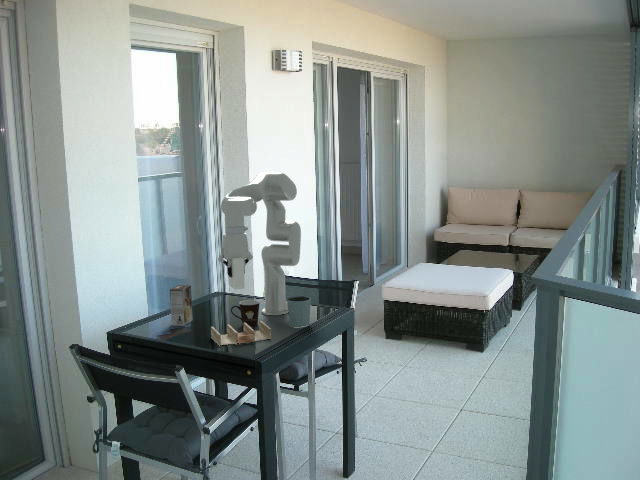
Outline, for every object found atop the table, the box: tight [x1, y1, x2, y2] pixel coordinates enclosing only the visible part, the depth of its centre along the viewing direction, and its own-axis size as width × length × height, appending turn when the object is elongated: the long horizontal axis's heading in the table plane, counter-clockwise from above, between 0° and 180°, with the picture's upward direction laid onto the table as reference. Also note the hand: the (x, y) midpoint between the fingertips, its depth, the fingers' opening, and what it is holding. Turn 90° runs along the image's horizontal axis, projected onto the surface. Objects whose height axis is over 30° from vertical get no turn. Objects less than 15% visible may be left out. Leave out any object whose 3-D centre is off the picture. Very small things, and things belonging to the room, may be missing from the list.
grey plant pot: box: [286, 295, 312, 327], centre depth 294 cm, size 10×10×12 cm
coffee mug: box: [230, 299, 260, 328], centre depth 297 cm, size 12×9×10 cm
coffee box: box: [169, 284, 193, 327], centre depth 301 cm, size 9×6×16 cm
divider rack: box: [210, 320, 272, 347], centre depth 277 cm, size 21×14×5 cm, turn 112°
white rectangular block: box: [227, 257, 246, 290], centre depth 274 cm, size 4×10×12 cm, turn 21°
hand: (236, 275), depth 275 cm, fingers closed on white rectangular block, 4 cm apart
